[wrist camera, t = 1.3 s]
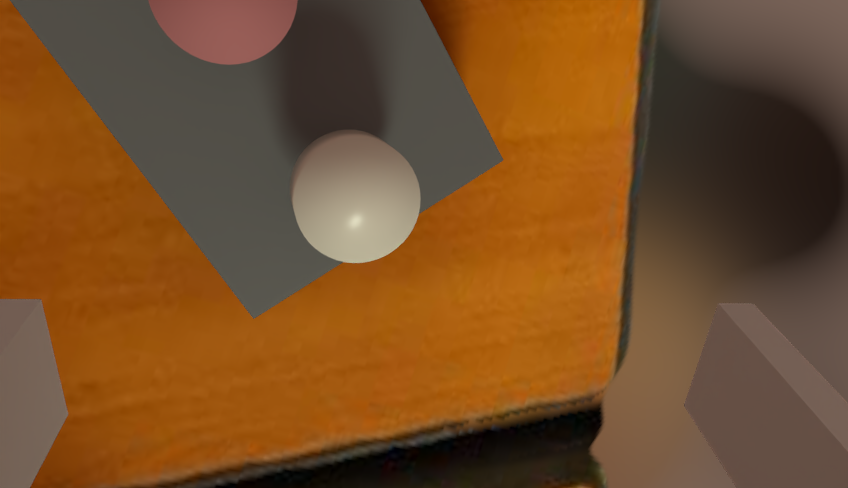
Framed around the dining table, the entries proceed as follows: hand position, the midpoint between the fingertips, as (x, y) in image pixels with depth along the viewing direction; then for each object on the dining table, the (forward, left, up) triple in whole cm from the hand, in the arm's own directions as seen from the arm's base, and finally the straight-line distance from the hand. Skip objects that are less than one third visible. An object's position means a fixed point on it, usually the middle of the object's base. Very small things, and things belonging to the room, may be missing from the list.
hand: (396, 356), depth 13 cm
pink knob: (+1, +8, -24) cm, 26 cm away
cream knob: (+1, -2, -24) cm, 24 cm away
